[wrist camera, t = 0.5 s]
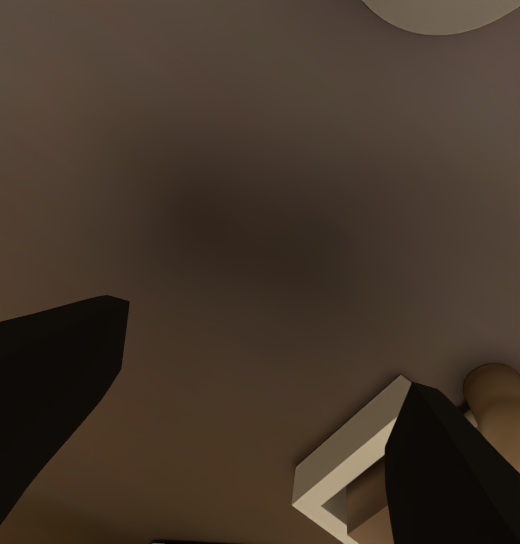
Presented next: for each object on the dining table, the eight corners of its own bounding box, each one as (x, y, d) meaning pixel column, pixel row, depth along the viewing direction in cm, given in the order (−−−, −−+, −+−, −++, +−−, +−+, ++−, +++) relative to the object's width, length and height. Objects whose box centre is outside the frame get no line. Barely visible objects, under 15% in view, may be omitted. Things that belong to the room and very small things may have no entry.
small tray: (393, 539, 24) (399, 584, 22) (296, 466, 24) (291, 505, 21) (508, 459, 21) (529, 500, 19) (400, 374, 21) (409, 406, 18)
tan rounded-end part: (402, 502, 23) (420, 610, 18) (345, 458, 23) (347, 556, 18) (547, 396, 20) (620, 493, 15) (482, 344, 20) (534, 424, 15)
